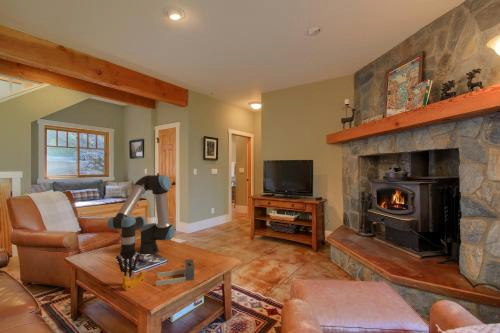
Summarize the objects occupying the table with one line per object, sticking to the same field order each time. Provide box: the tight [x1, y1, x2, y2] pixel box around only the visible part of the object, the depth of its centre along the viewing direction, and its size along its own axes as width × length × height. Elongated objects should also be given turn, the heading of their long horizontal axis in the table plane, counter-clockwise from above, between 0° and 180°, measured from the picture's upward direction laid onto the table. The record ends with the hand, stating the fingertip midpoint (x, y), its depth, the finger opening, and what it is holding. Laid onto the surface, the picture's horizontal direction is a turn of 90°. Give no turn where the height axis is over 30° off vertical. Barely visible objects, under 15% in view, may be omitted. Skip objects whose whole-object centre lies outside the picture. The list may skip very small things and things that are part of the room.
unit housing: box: [184, 258, 195, 282], centre depth 153 cm, size 11×5×10 cm, turn 18°
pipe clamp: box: [122, 269, 146, 291], centre depth 141 cm, size 12×4×6 cm, turn 144°
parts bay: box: [155, 268, 187, 287], centre depth 149 cm, size 13×17×2 cm
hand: (127, 282), depth 142 cm, fingers closed
